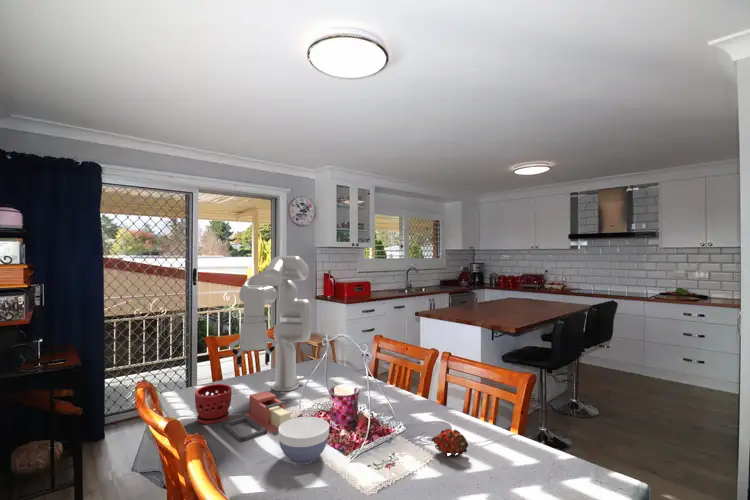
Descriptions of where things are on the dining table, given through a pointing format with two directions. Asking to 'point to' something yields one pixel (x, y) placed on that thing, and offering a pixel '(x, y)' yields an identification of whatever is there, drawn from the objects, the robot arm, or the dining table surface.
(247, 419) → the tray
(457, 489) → the dining table surface
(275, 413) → the cream chunky block
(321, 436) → the bowl
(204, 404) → the plant pot
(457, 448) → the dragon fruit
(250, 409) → the dispenser
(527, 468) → the dining table surface
